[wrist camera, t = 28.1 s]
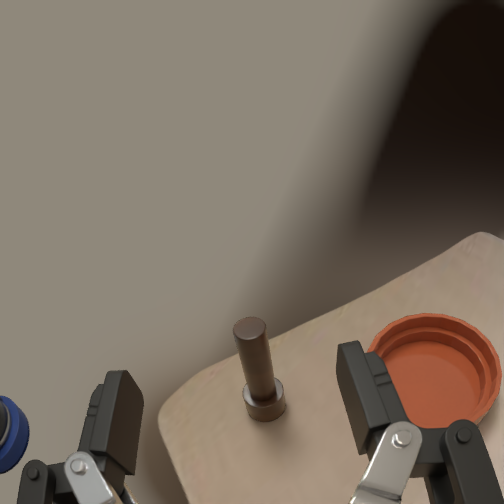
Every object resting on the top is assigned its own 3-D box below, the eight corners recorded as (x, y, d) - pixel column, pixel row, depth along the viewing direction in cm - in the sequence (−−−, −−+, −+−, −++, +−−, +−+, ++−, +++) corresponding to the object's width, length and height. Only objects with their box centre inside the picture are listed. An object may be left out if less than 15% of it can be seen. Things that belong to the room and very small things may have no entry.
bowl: (332, 391, 31) (334, 369, 29) (413, 319, 38) (419, 295, 36) (438, 475, 20) (454, 460, 18) (506, 375, 26) (519, 353, 24)
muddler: (240, 403, 32) (215, 325, 26) (270, 384, 34) (255, 303, 27) (261, 428, 29) (241, 355, 23) (293, 407, 31) (285, 328, 24)
